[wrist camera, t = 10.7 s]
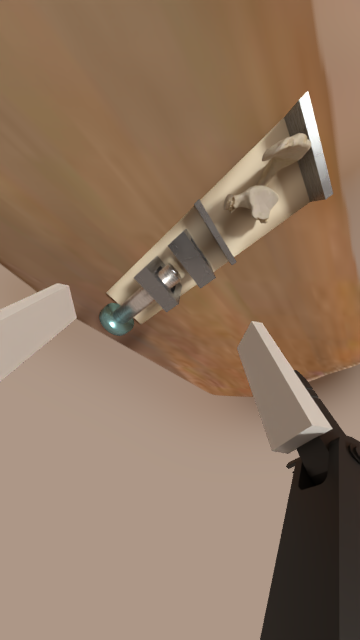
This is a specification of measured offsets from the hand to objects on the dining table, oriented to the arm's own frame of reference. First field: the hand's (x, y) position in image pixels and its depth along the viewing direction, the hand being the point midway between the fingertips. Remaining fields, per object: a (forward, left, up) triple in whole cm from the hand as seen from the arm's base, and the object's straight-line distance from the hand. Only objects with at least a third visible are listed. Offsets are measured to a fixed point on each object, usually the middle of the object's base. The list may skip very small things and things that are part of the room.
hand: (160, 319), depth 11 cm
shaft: (0, -9, -18) cm, 20 cm away
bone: (0, +13, -19) cm, 23 cm away
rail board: (0, +2, -20) cm, 21 cm away
